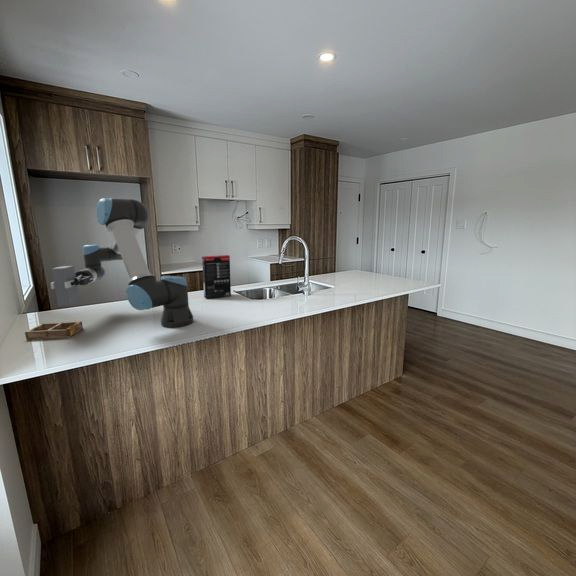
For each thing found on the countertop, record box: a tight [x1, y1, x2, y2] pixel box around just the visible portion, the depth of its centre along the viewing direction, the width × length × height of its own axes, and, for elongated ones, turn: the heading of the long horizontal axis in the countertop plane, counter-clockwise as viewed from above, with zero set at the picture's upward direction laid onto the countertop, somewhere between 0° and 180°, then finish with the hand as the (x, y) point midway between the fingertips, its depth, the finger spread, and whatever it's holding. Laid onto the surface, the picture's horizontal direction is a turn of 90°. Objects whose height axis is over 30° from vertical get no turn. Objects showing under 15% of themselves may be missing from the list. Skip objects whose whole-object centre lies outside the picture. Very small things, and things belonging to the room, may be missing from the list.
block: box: [51, 265, 80, 307], centre depth 145 cm, size 8×5×17 cm, turn 7°
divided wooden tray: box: [24, 321, 84, 341], centre depth 142 cm, size 12×18×4 cm
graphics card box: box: [201, 254, 232, 300], centre depth 206 cm, size 17×7×27 cm, turn 118°
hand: (58, 285), depth 139 cm, fingers closed on block, 5 cm apart
